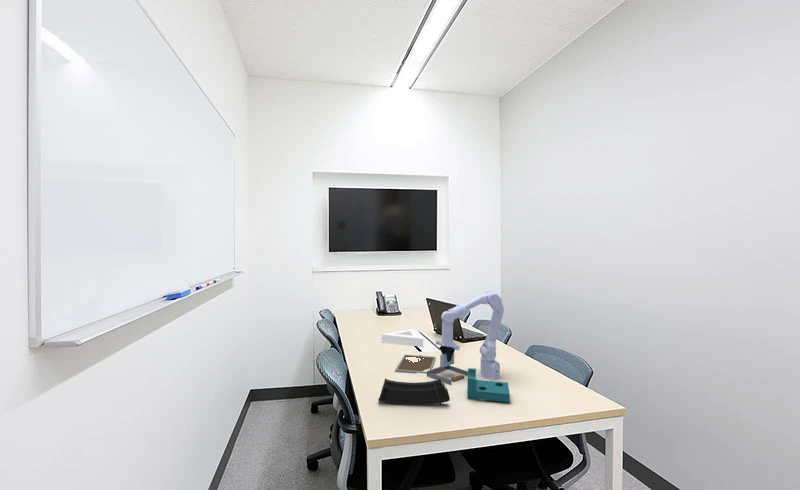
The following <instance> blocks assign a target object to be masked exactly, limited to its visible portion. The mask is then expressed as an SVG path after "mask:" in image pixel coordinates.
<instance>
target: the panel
mask: <svg viewBox="0 0 800 490" xmlns="http://www.w3.org/2000/svg"><path fill="white" fill-rule="evenodd" d="M439 357H440V358H439V360H440V361H439V367H446V366H449V365H450V366H452V365H454V364H455V352H454V353H453V355H452V358H451V361H450V362H447V353H444V354H442V353H441V354H440V356H439Z"/></svg>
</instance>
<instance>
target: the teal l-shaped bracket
mask: <svg viewBox="0 0 800 490" xmlns="http://www.w3.org/2000/svg"><path fill="white" fill-rule="evenodd" d="M467 371H468V376H467V385H466V386H467V388H466V389H467V394H466V395H467V396H466V397H467V399H473V400H474V399H475V400H482V401H492V402H493V401H495V402H503V403H511V402H510V401H511V400H510V399H511V398H510V395H511V394H510V389H509V388H510V387H509V384H508V382H505V381H494V380H485V379H484V380H482V379H480V380H479V379H477V368H474V367H473V368H472V367H471V368H470V367H469V368H467Z"/></svg>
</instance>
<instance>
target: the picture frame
mask: <svg viewBox="0 0 800 490" xmlns="http://www.w3.org/2000/svg"><path fill="white" fill-rule="evenodd" d="M406 357H416V358H420V359H421V360H420V361H419V359H418V362H414V363H413V362H412V361H410V360H408V359H407V360H406V359H405V358H406ZM423 358H424V359H423ZM436 358H437V357H436V356H429V355H428V356H427V355H422V354H420V355H418V354H417V355H413V354H403V357H402V358H401V360H400V361H399V363H398V364H397V366H396V368H395V370H394V372H395V373H403V374H404V373H406V374H414V373H415V374H426V375H427V371H428V370H432V369H434V365H435V361H436V360H437V359H436ZM409 361H410V362H409Z"/></svg>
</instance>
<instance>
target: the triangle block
mask: <svg viewBox="0 0 800 490" xmlns="http://www.w3.org/2000/svg"><path fill="white" fill-rule="evenodd" d="M381 343H382V344H389V345H398V346H405V345H407V346H406V347H414V346H419V347H418V348H424V338H423V337H422V336H421V335H420V334H419V333H418V332H417V331H416V329H415V328H414V327H413V328H408V329H403V330H398V331H393V332H388V333H382V334H381Z"/></svg>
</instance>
